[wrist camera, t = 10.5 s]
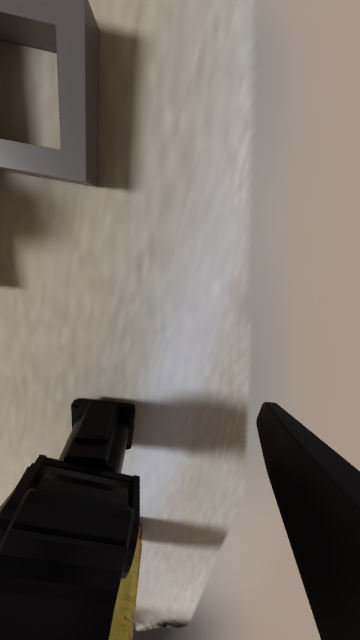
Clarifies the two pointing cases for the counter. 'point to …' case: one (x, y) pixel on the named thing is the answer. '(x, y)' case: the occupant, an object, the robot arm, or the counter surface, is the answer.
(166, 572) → the counter surface
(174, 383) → the counter surface
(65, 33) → the socket block
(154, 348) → the counter surface
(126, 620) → the sauce bottle
